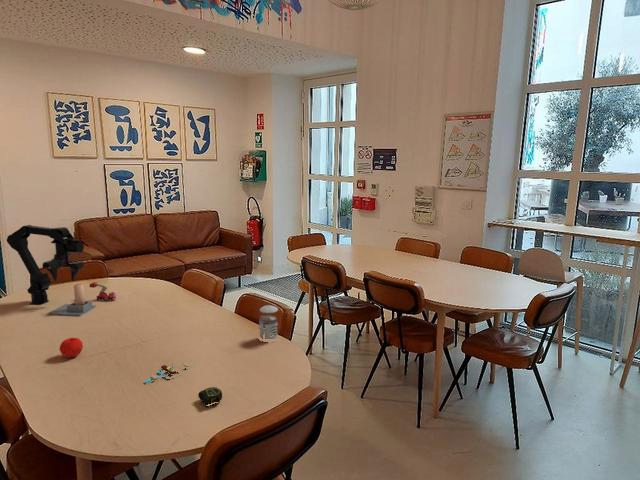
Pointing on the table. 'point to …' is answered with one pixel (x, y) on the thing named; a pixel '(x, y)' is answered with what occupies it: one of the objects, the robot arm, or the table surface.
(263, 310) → the french press
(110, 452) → the table surface
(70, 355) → the apple
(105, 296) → the toy fire truck
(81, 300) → the peg
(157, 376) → the gear mechanism
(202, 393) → the tape measure
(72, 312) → the jig cradle
